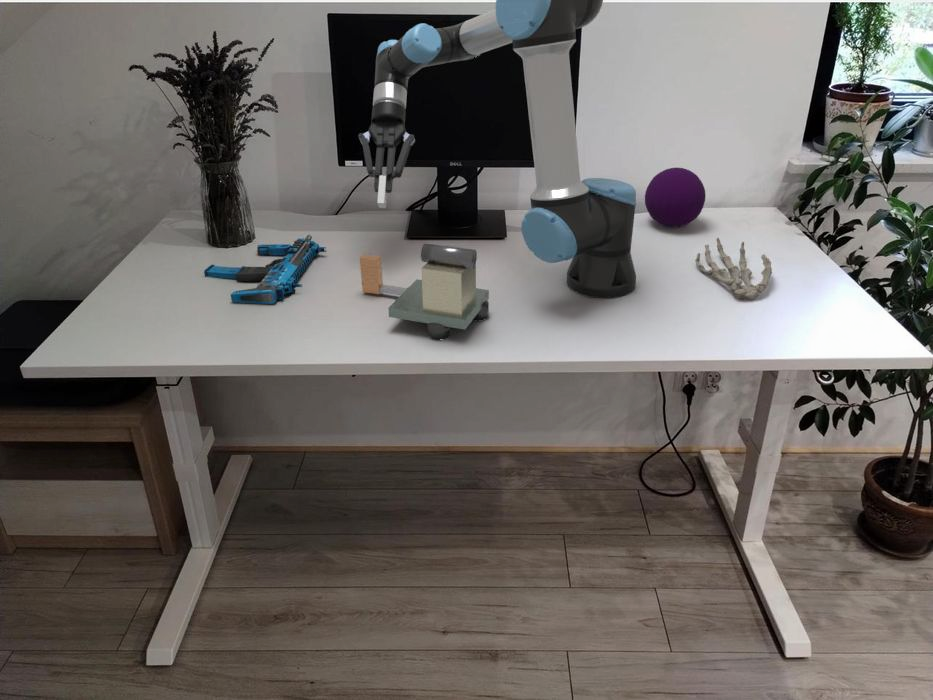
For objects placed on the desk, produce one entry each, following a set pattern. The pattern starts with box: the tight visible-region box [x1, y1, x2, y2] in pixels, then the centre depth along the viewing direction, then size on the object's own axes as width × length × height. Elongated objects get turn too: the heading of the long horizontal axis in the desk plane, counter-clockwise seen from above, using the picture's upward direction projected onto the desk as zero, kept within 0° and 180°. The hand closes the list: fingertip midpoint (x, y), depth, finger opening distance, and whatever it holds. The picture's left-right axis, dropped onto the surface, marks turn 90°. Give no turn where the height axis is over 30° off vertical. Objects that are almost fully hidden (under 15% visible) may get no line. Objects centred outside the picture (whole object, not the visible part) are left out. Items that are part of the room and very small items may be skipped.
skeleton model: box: [695, 237, 773, 301], centre depth 176 cm, size 24×13×5 cm, turn 13°
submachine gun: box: [203, 234, 328, 305], centre depth 182 cm, size 34×4×25 cm
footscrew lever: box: [359, 254, 410, 296], centre depth 167 cm, size 15×5×8 cm, turn 70°
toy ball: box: [644, 167, 706, 228], centre depth 201 cm, size 15×15×15 cm
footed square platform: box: [387, 242, 490, 341], centre depth 155 cm, size 17×15×17 cm
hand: (381, 205), depth 174 cm, fingers closed
